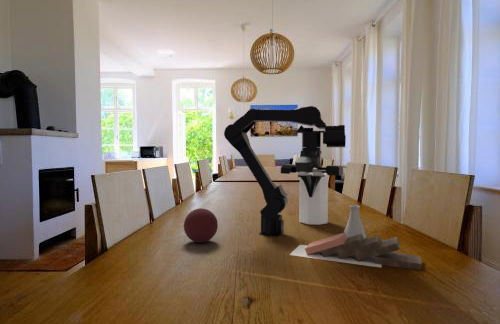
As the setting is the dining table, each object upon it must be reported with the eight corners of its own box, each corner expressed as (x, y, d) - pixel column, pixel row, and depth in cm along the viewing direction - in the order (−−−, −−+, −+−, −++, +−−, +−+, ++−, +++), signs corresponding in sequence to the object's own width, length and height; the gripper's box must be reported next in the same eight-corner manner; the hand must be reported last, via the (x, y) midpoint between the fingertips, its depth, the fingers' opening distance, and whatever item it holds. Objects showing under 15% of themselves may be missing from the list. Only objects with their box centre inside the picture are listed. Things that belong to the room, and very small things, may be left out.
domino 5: (374, 256, 78) (421, 264, 74) (375, 249, 83) (419, 256, 79) (373, 263, 78) (421, 271, 74) (375, 255, 83) (419, 262, 79)
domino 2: (320, 250, 83) (359, 239, 79) (325, 244, 89) (361, 233, 85) (323, 256, 83) (361, 245, 79) (327, 250, 88) (364, 239, 84)
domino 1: (304, 248, 85) (341, 237, 81) (310, 242, 90) (345, 232, 86) (307, 254, 85) (344, 243, 81) (312, 248, 90) (347, 237, 86)
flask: (368, 241, 99) (368, 208, 98) (343, 240, 100) (343, 207, 100) (364, 235, 106) (365, 204, 105) (341, 234, 107) (341, 203, 107)
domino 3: (337, 252, 81) (377, 241, 78) (341, 246, 87) (378, 235, 83) (340, 259, 81) (380, 247, 77) (343, 252, 87) (381, 241, 83)
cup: (332, 221, 127) (332, 173, 126) (322, 226, 118) (322, 175, 117) (305, 217, 133) (305, 172, 132) (293, 222, 124) (293, 173, 123)
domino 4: (354, 254, 80) (396, 243, 76) (357, 248, 85) (396, 236, 81) (357, 261, 80) (399, 249, 76) (360, 254, 85) (399, 243, 81)
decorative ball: (224, 241, 98) (224, 208, 98) (198, 249, 91) (197, 213, 90) (203, 235, 105) (203, 204, 104) (177, 242, 98) (176, 208, 97)
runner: (289, 256, 84) (289, 254, 84) (300, 246, 94) (300, 244, 94) (381, 269, 75) (381, 267, 75) (383, 256, 85) (383, 254, 85)
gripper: (273, 147, 100) (273, 198, 101) (334, 147, 91) (333, 203, 92) (287, 147, 110) (287, 194, 111) (343, 147, 101) (343, 198, 102)
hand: (310, 197), depth 103 cm, fingers closed
